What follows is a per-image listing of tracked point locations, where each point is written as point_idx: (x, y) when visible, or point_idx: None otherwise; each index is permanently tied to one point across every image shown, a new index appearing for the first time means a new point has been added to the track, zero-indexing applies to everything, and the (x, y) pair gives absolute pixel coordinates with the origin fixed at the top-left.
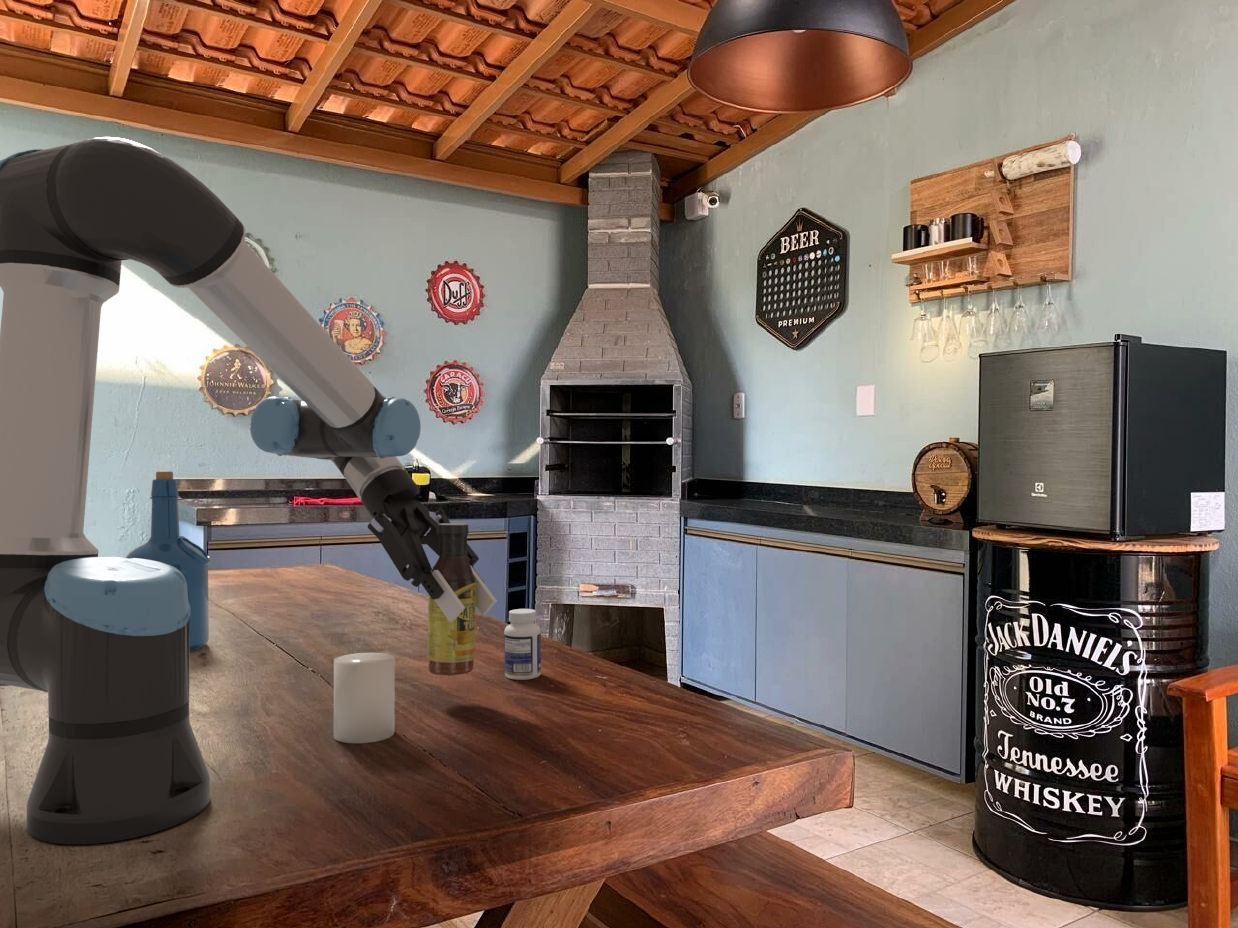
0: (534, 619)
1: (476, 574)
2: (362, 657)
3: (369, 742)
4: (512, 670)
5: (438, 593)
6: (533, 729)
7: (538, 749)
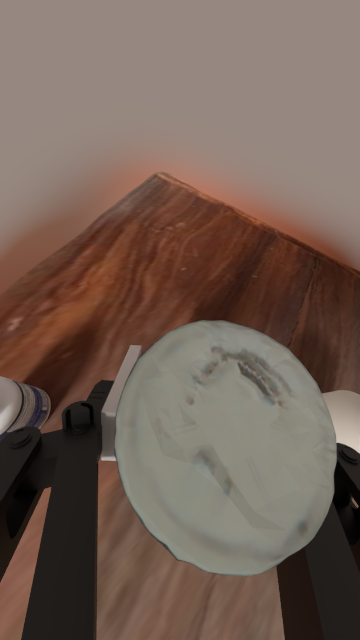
0: None
1: (116, 387)
2: (355, 441)
3: None
4: (45, 412)
5: None
6: (205, 307)
7: (238, 287)
